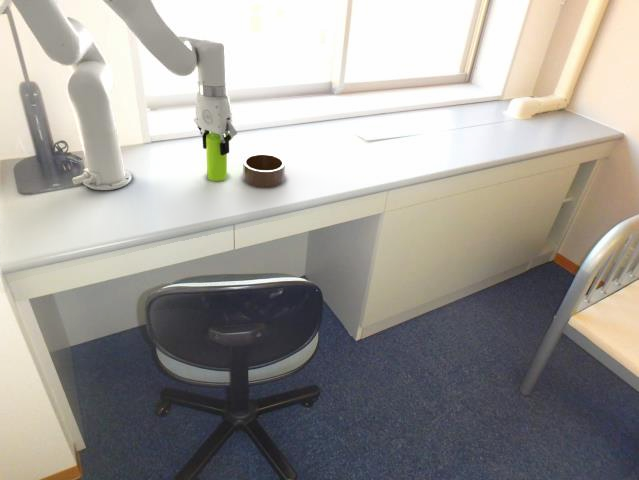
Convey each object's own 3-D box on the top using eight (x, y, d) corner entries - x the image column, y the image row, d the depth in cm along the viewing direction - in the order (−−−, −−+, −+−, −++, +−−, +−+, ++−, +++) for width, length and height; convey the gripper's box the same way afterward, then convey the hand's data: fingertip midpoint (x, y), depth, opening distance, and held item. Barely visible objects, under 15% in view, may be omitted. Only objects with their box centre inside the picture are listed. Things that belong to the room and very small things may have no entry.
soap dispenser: (211, 183, 133) (209, 120, 121) (204, 173, 137) (203, 110, 126) (230, 181, 135) (230, 118, 124) (223, 170, 140) (223, 109, 128)
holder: (267, 192, 132) (268, 175, 129) (235, 179, 137) (234, 162, 133) (291, 177, 141) (292, 161, 138) (260, 165, 146) (260, 150, 142)
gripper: (180, 85, 122) (185, 146, 132) (228, 100, 115) (230, 163, 125) (199, 79, 127) (203, 139, 137) (246, 94, 120) (247, 155, 131)
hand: (216, 150), depth 131 cm, fingers closed on soap dispenser, 6 cm apart
